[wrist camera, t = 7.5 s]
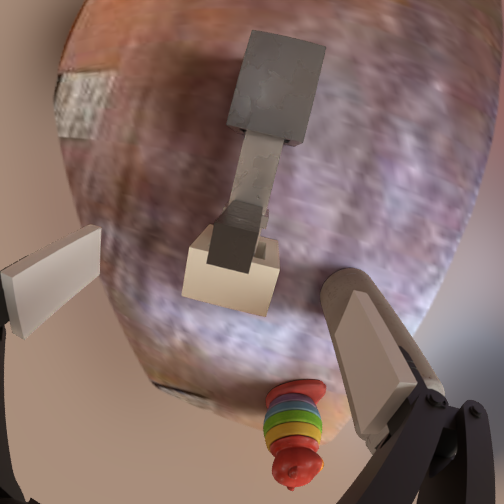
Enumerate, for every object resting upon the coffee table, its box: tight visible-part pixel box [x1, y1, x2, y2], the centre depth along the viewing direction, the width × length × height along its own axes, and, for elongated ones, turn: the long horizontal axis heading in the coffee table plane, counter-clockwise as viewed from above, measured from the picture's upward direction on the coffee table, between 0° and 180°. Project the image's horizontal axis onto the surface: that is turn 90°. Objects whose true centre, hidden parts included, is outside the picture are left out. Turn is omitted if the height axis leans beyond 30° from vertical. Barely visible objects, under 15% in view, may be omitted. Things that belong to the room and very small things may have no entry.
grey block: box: [226, 30, 326, 147], centre depth 27 cm, size 10×7×10 cm
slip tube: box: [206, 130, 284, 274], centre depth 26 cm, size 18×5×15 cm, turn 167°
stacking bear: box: [263, 380, 326, 491], centre depth 38 cm, size 11×10×18 cm
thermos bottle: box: [320, 268, 445, 455], centre depth 26 cm, size 8×8×28 cm
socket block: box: [182, 224, 280, 317], centre depth 34 cm, size 6×9×10 cm, turn 77°
